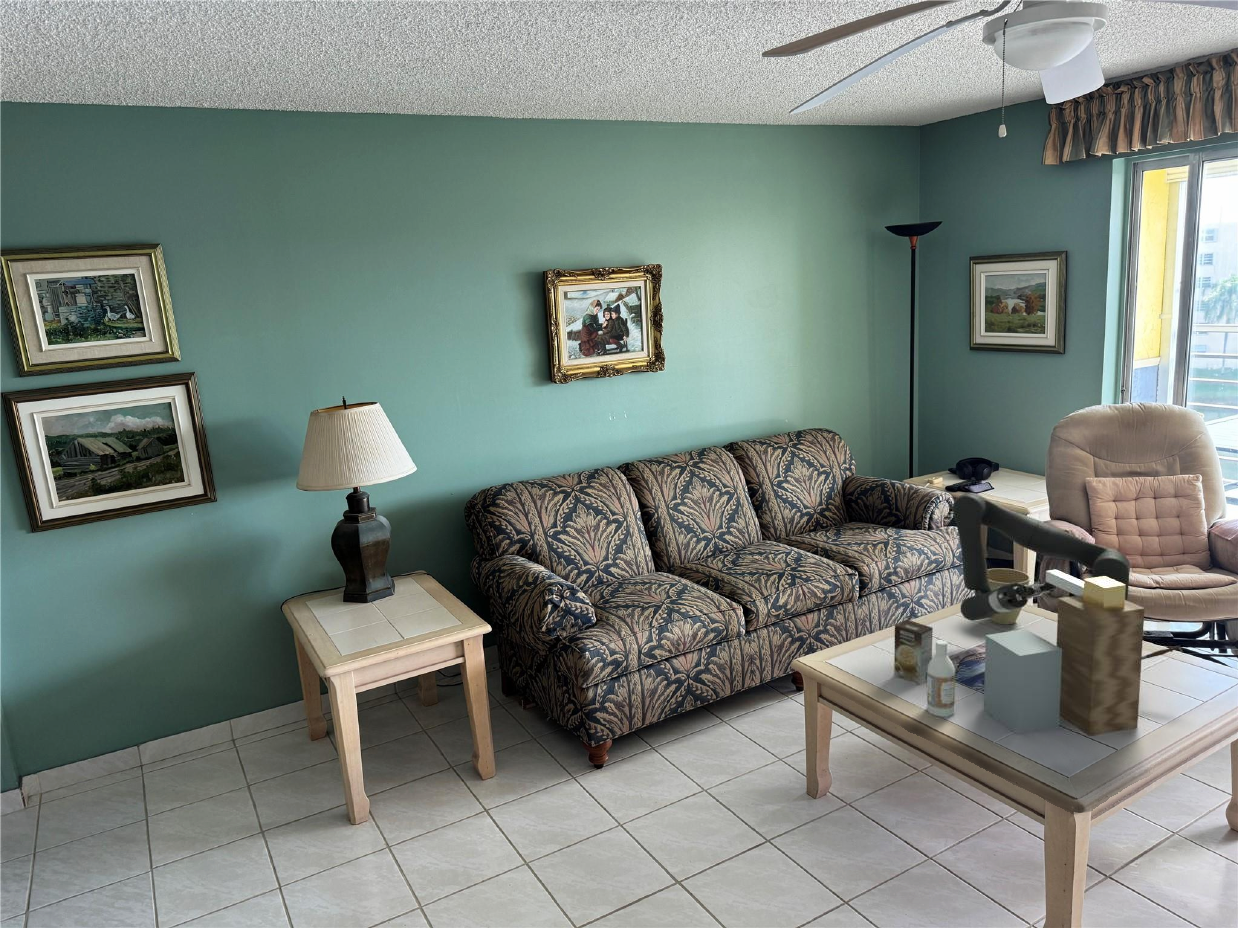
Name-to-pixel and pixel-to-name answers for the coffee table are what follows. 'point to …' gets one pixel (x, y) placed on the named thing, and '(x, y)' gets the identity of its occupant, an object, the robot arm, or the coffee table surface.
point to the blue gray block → (1022, 681)
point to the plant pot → (1002, 578)
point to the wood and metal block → (1091, 589)
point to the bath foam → (941, 683)
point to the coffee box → (912, 651)
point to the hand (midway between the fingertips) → (1040, 586)
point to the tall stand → (1099, 665)
